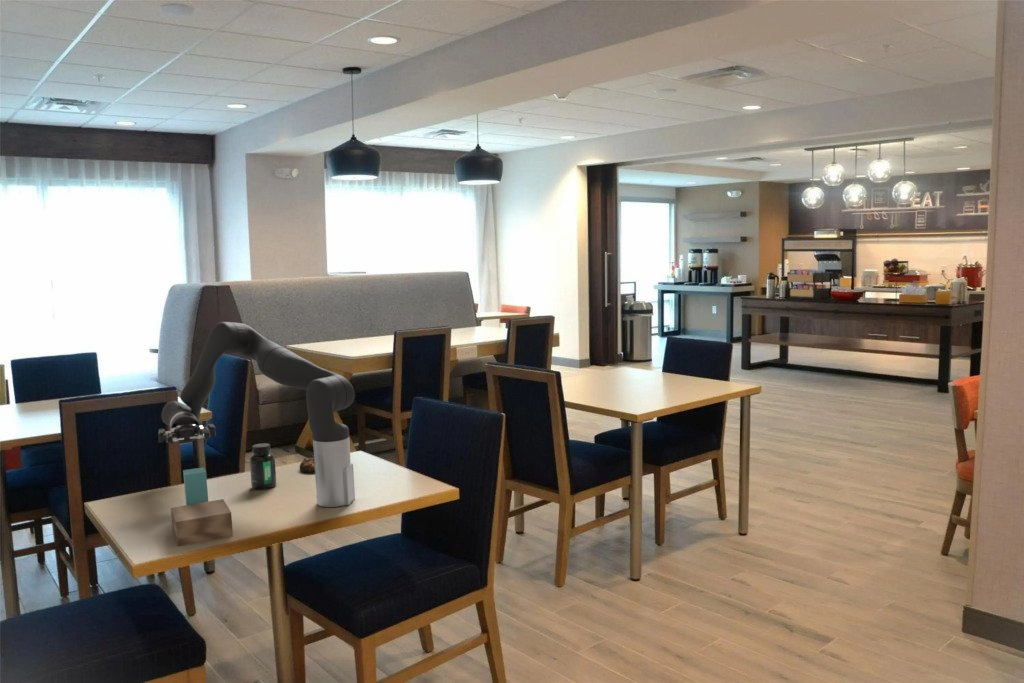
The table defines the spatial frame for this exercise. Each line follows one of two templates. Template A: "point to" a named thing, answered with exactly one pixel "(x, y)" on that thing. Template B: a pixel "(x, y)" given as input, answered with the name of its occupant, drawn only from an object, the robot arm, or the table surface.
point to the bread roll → (308, 465)
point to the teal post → (195, 486)
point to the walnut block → (201, 522)
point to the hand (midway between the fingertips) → (188, 438)
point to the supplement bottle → (262, 467)
